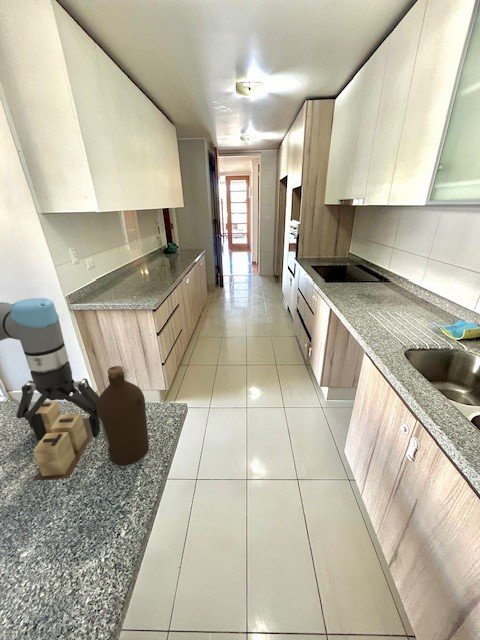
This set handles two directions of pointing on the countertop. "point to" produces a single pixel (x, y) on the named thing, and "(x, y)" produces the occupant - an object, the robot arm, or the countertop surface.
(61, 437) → the letter T
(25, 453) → the countertop surface
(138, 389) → the olive oil
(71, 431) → the letter I
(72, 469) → the word board
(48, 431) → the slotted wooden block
